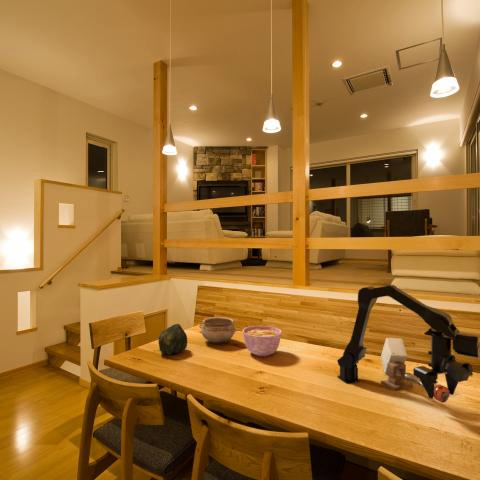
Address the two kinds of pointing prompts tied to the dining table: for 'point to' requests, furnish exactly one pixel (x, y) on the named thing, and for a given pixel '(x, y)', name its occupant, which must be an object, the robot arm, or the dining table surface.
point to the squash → (172, 340)
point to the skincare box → (393, 352)
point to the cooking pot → (218, 329)
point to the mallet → (439, 391)
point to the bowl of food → (262, 339)
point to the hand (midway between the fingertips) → (441, 396)
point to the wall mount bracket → (396, 376)
